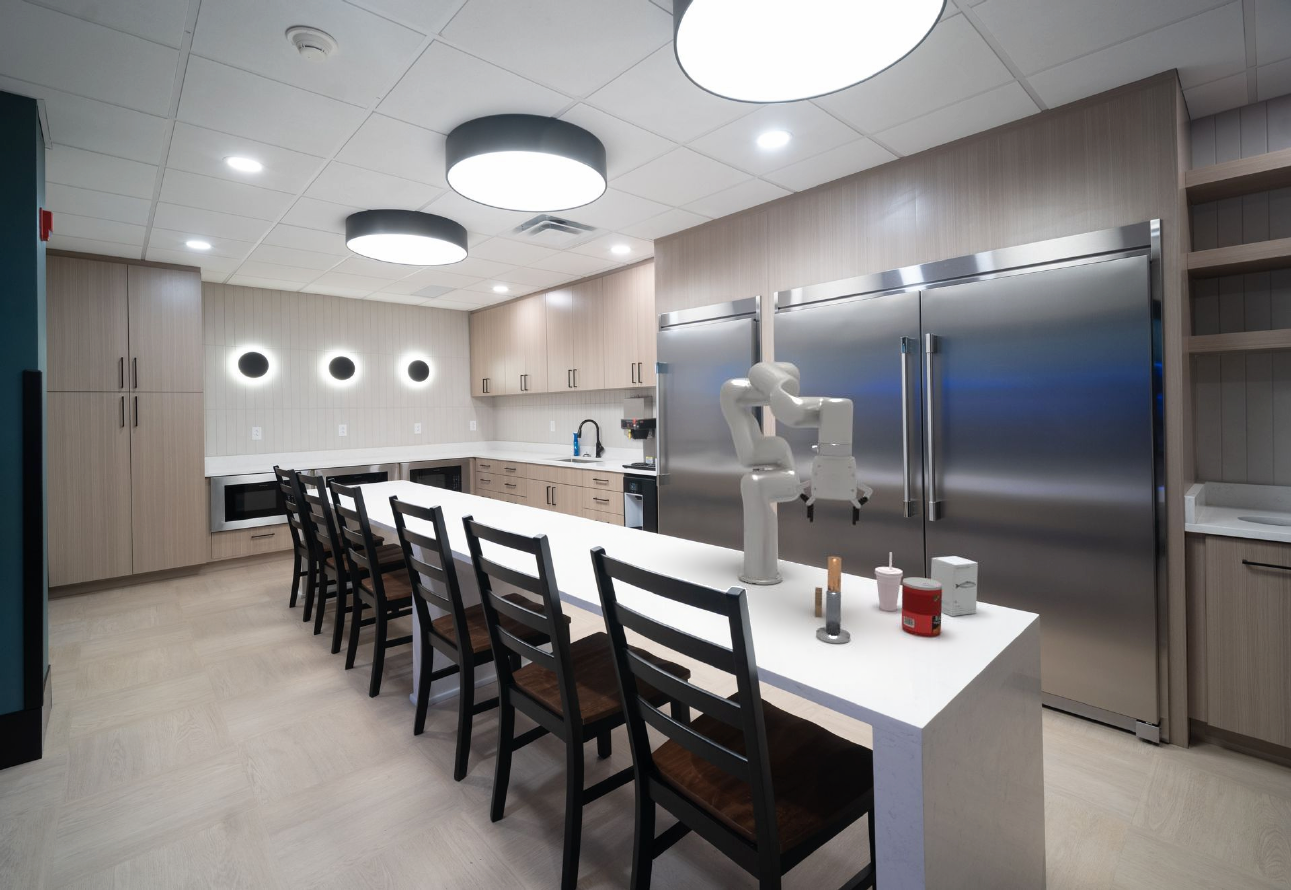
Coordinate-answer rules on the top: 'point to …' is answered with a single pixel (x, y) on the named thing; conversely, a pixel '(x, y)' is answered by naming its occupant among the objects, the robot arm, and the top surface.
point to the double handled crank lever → (833, 596)
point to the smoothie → (888, 585)
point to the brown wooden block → (818, 602)
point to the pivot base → (833, 636)
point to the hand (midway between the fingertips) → (832, 522)
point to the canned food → (921, 606)
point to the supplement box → (956, 584)
